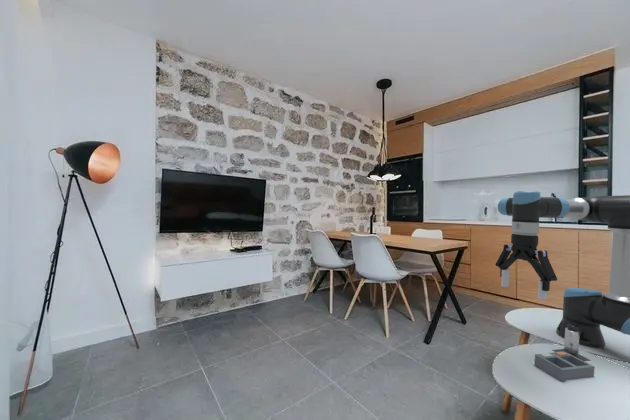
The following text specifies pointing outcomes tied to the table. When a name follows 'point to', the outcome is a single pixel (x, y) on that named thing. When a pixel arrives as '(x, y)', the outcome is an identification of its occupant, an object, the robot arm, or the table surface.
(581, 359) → the plug mat
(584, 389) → the table surface
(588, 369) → the socket block
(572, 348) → the plug
